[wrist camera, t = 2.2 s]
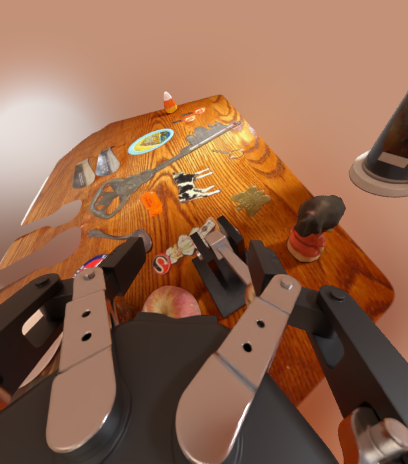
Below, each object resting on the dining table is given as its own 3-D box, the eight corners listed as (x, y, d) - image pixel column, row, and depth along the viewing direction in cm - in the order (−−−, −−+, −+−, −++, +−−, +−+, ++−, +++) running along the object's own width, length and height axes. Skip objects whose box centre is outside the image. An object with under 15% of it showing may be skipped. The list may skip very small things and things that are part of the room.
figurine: (319, 268, 27) (356, 231, 17) (283, 260, 29) (297, 222, 19) (321, 236, 30) (354, 188, 20) (287, 231, 32) (302, 185, 22)
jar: (110, 297, 34) (29, 277, 22) (155, 312, 30) (87, 297, 18) (75, 365, 29) (-56, 388, 17) (124, 394, 25) (-2, 453, 13)
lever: (308, 316, 11) (298, 285, 10) (269, 343, 11) (254, 316, 9) (228, 242, 23) (219, 224, 21) (209, 254, 23) (198, 237, 21)
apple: (168, 288, 32) (146, 277, 26) (210, 298, 29) (198, 287, 22) (151, 339, 28) (119, 341, 21) (198, 357, 25) (178, 365, 18)
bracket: (274, 285, 27) (287, 252, 16) (225, 319, 27) (203, 308, 15) (233, 236, 34) (223, 189, 23) (193, 262, 34) (162, 226, 22)
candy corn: (167, 115, 78) (159, 95, 71) (166, 113, 80) (158, 93, 73) (178, 110, 78) (171, 89, 71) (177, 108, 79) (170, 88, 73)
